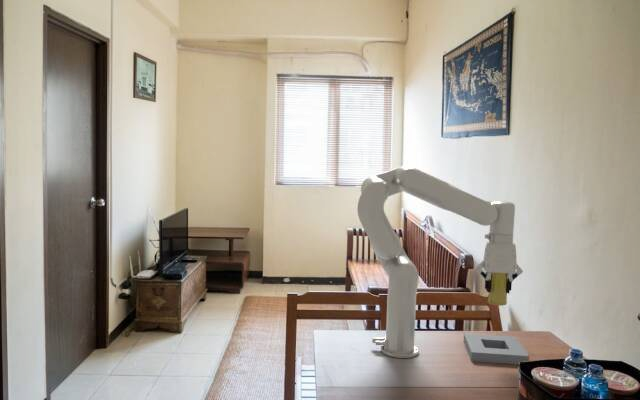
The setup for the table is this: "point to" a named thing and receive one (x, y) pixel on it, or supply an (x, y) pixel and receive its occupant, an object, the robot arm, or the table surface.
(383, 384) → the table surface
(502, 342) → the socket plate
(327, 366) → the table surface
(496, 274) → the vase
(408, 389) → the table surface
